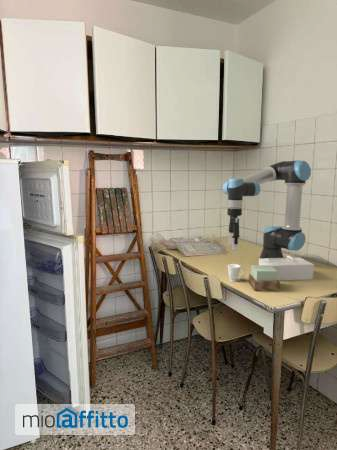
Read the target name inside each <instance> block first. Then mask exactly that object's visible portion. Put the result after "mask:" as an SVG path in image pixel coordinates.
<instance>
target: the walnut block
mask: <svg viewBox="0 0 337 450" xmlns="http://www.w3.org/2000/svg"><path fill="white" fill-rule="evenodd" d="M248 284H249V285H250V287H251V288H252V289H253V291H254V292H280V287H281V283H280V280H277V281H256V280H255V278H254V277H253V276H252V275H251V273H250V274H249V275H248Z"/></svg>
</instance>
